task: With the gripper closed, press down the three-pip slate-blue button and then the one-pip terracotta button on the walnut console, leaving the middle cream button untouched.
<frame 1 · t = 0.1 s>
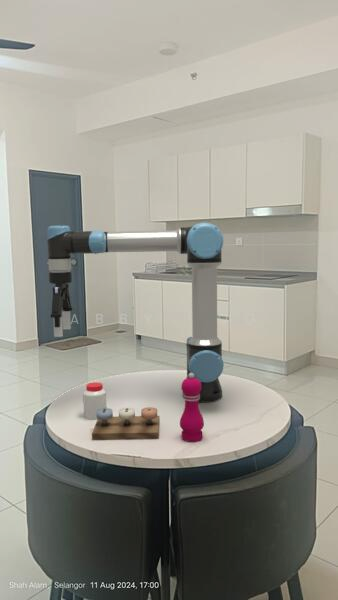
hand: (62, 332, 168), 28 cm above the table, fingers open, 13 cm apart
console: (127, 430, 152), on the table
button 1: (149, 416, 152), point 5 cm above the table, slide at 0.0 cm
pill bottle: (95, 416, 166), on the table
button 3: (104, 417, 152), point 5 cm above the table, slide at 0.0 cm
pepper mill: (192, 438, 146), on the table
button 2: (126, 416, 152), point 5 cm above the table, slide at 0.0 cm
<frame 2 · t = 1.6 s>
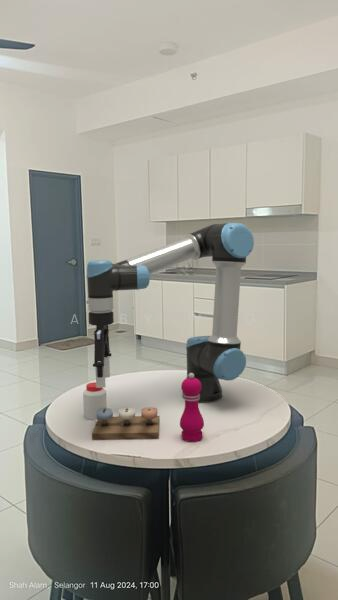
hand: (103, 382, 151), 16 cm above the table, fingers open, 10 cm apart
nothing on the table moved.
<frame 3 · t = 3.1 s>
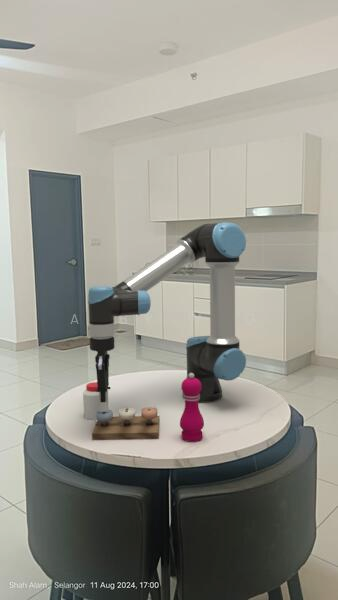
hand: (104, 410, 152), 7 cm above the table, fingers closed
button 3: (104, 418, 152), point 4 cm above the table, slide at 0.5 cm, touching gripper
everything else where it was.
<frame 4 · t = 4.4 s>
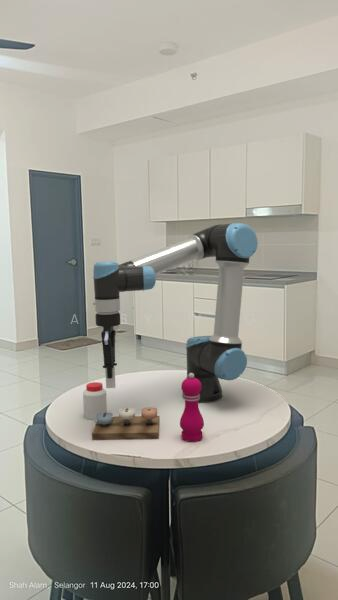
hand: (110, 387, 151), 14 cm above the table, fingers closed
button 3: (104, 421, 152), point 3 cm above the table, slide at 1.4 cm
everything else where it was.
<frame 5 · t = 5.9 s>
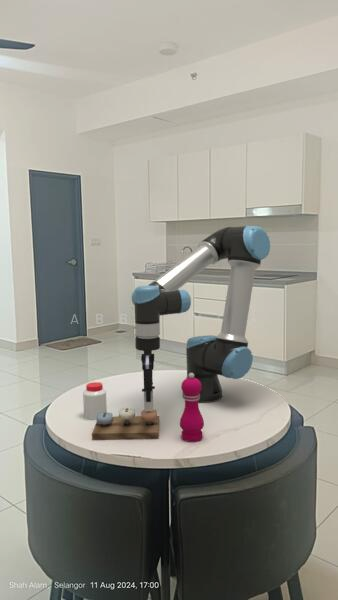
hand: (148, 410, 152), 6 cm above the table, fingers closed
button 1: (149, 417, 152), point 4 cm above the table, slide at 0.6 cm, touching gripper
everything else where it was.
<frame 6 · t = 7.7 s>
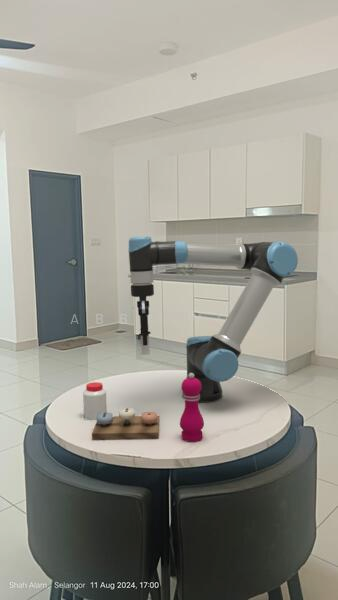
hand: (145, 354, 162), 21 cm above the table, fingers closed
button 1: (149, 420, 152), point 3 cm above the table, slide at 1.4 cm
everything else where it was.
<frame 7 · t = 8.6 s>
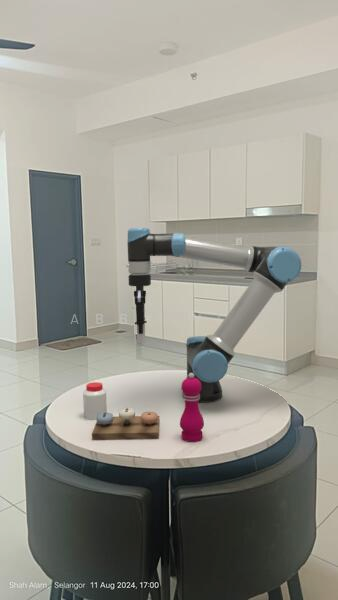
hand: (141, 342, 167), 24 cm above the table, fingers closed
nothing on the table moved.
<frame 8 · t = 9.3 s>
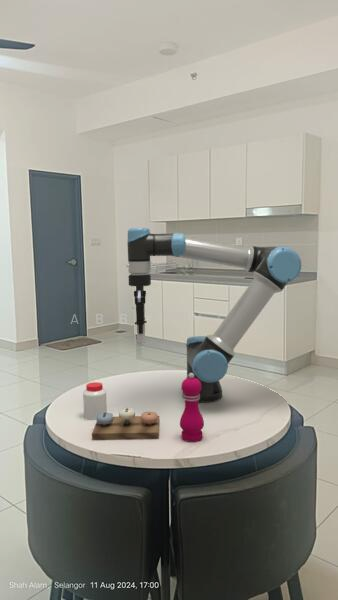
hand: (141, 342, 167), 24 cm above the table, fingers closed
nothing on the table moved.
at the end: button 3 slide at 1.4 cm; button 1 slide at 1.4 cm; button 2 slide at 0.0 cm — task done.
